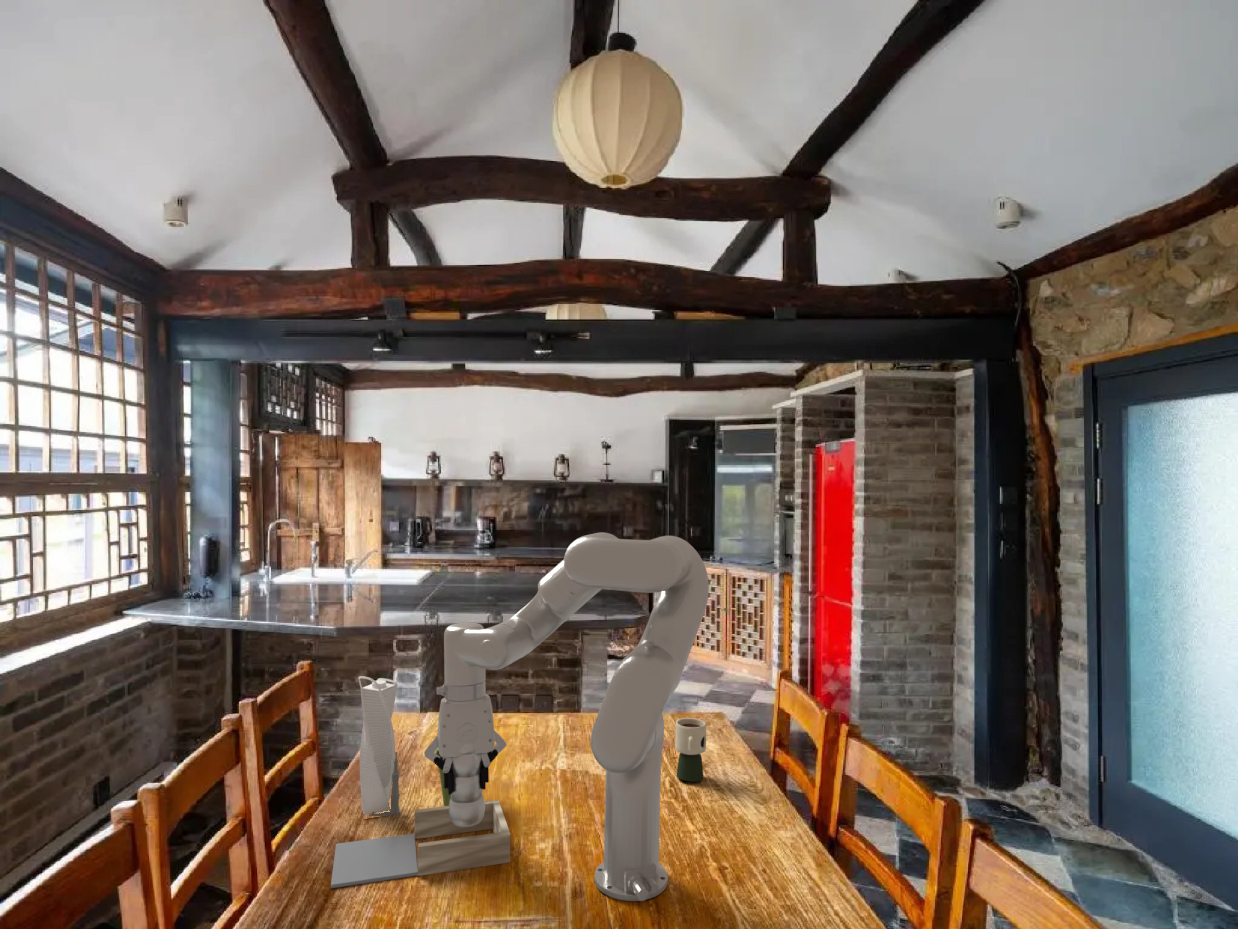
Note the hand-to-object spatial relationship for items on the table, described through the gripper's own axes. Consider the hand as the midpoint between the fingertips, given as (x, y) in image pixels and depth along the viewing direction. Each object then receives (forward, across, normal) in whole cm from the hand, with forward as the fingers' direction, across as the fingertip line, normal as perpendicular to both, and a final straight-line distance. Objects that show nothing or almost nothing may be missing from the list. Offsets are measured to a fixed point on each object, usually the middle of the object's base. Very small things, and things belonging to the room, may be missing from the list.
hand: (466, 788), depth 133 cm
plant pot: (+11, +1, +19) cm, 22 cm away
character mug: (+13, +53, +18) cm, 57 cm away
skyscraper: (+11, -16, +22) cm, 29 cm away
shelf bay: (+11, -1, +1) cm, 11 cm away
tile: (+11, -16, +1) cm, 19 cm away
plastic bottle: (+7, 0, 0) cm, 7 cm away
